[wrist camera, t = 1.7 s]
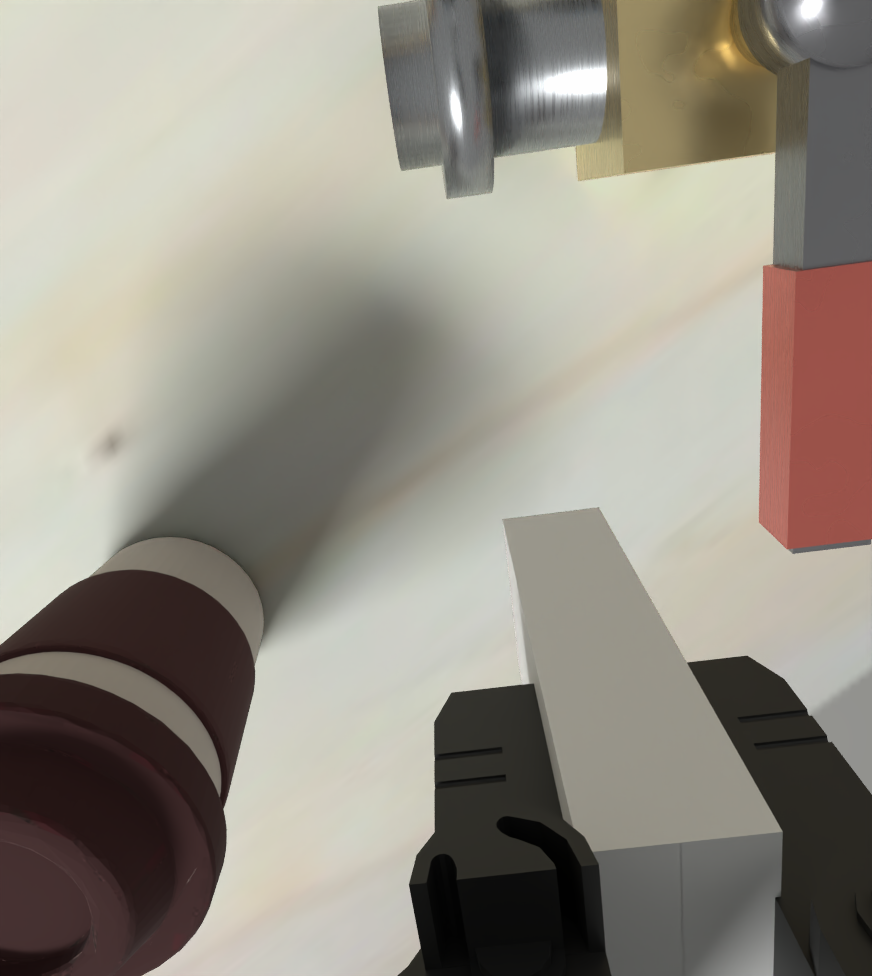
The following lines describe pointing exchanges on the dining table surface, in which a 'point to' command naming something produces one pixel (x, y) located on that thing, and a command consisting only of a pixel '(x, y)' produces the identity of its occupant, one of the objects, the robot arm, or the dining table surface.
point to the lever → (817, 274)
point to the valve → (572, 85)
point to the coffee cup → (122, 759)
